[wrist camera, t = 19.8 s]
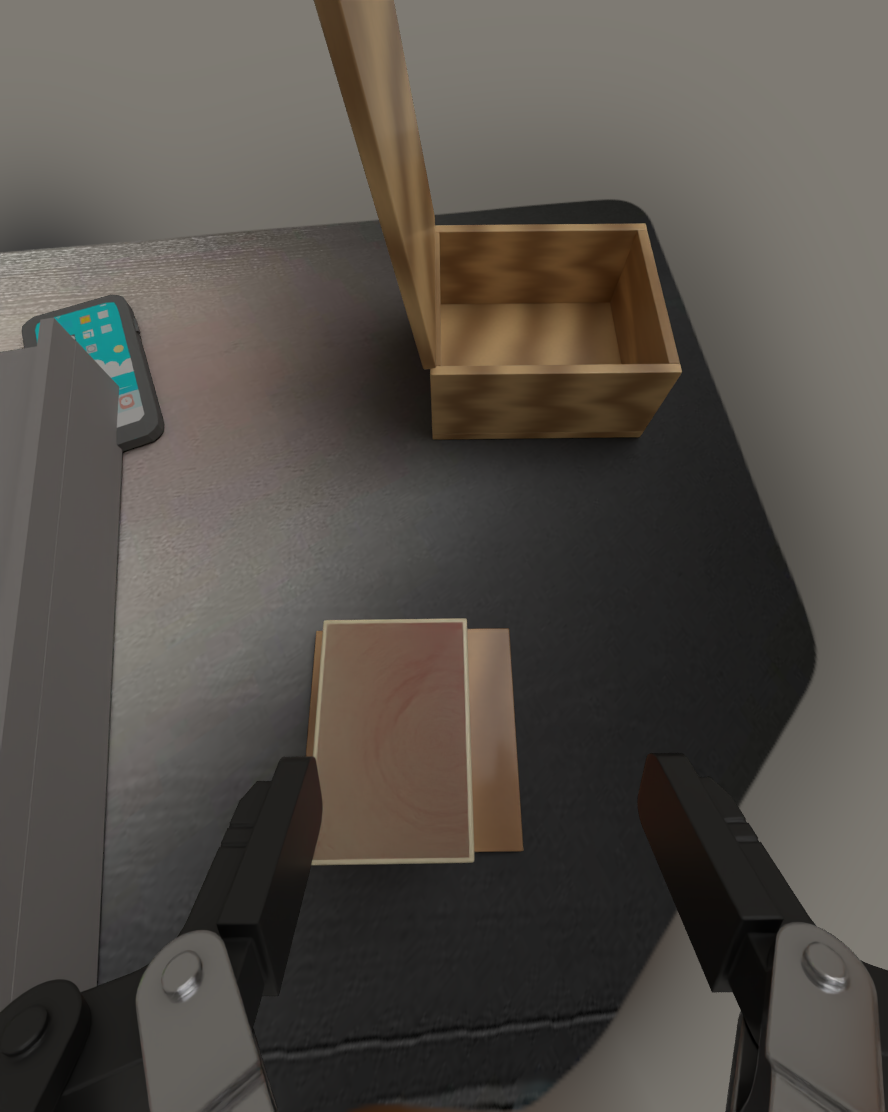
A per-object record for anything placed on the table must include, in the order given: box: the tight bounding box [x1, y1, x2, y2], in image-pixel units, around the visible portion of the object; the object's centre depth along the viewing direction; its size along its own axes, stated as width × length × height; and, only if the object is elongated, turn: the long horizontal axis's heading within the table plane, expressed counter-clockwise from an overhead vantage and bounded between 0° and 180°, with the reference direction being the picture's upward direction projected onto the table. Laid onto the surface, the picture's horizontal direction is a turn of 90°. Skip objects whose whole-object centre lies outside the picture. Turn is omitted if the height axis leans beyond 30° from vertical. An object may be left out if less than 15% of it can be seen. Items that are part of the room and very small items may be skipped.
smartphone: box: [22, 295, 164, 452], centre depth 36 cm, size 9×1×15 cm
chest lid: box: [314, 0, 436, 369], centre depth 23 cm, size 16×13×1 cm
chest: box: [430, 224, 682, 440], centre depth 34 cm, size 15×13×7 cm
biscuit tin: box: [311, 618, 474, 865], centre depth 22 cm, size 6×8×11 cm
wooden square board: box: [306, 628, 523, 852], centre depth 27 cm, size 12×12×1 cm
